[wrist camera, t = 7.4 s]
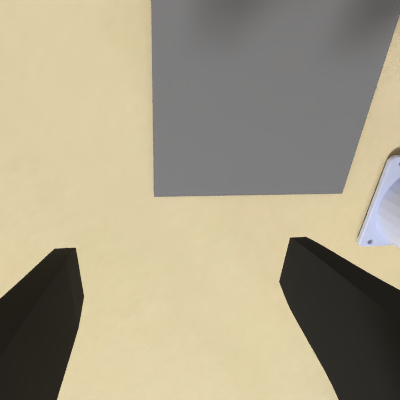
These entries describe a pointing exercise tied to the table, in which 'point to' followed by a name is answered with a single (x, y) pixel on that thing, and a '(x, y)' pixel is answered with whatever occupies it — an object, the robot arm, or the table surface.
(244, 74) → the mat
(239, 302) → the table surface
